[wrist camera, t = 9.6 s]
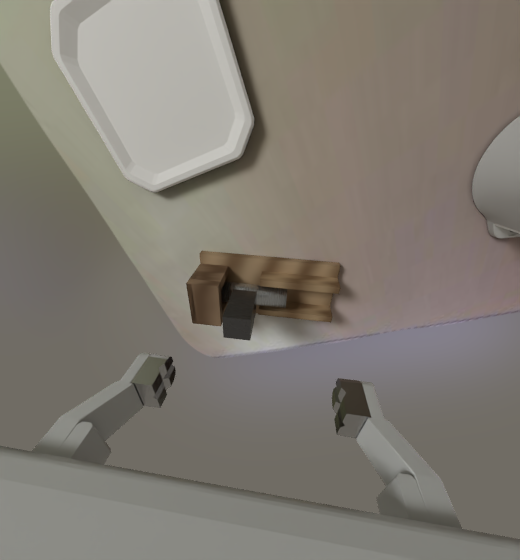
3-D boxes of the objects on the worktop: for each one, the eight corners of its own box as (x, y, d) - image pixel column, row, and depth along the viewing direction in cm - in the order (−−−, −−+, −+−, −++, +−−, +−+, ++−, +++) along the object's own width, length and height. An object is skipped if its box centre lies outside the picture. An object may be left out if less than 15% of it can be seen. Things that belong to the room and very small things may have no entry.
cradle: (339, 262, 39) (349, 288, 32) (325, 316, 45) (331, 346, 38) (201, 250, 40) (184, 272, 34) (207, 303, 47) (193, 331, 40)
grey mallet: (287, 282, 40) (286, 324, 31) (285, 300, 42) (283, 344, 33) (210, 275, 41) (187, 313, 32) (211, 293, 43) (191, 333, 34)
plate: (144, 197, 37) (137, 200, 35) (46, 26, 27) (28, 18, 25) (264, 148, 31) (263, 148, 29) (194, -89, 22) (185, -110, 20)
